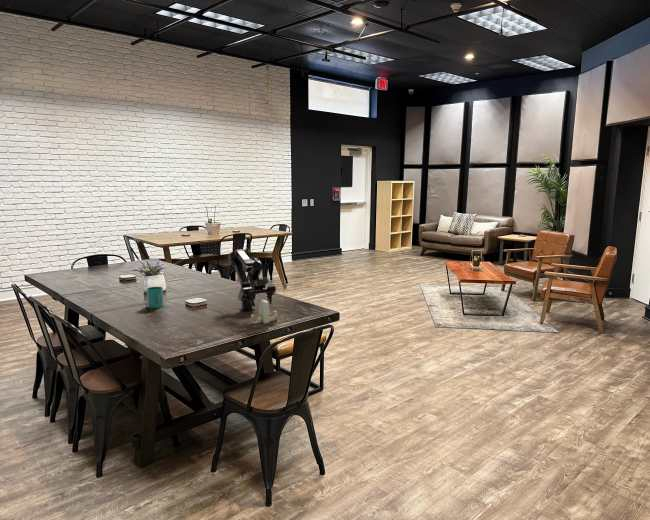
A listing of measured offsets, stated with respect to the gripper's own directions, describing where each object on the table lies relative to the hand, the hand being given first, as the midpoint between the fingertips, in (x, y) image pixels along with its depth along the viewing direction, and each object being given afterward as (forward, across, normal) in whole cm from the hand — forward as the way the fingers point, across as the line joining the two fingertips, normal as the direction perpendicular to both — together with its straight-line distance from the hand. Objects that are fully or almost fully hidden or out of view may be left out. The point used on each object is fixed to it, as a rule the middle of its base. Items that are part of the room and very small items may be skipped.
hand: (262, 305), depth 255 cm
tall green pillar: (+7, 0, +5) cm, 8 cm away
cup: (-34, -44, +48) cm, 74 cm away
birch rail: (+7, 0, +5) cm, 8 cm away
